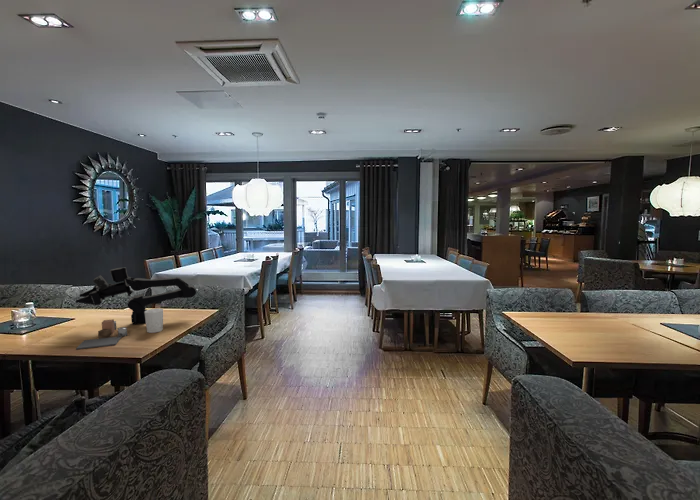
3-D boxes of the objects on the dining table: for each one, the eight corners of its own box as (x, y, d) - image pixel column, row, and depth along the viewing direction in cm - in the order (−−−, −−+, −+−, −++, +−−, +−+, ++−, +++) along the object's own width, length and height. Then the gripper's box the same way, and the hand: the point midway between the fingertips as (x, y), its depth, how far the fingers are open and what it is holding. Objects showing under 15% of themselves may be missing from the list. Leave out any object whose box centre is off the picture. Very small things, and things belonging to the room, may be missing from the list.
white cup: (167, 329, 172) (166, 309, 171) (154, 334, 164) (153, 313, 163) (155, 327, 174) (154, 307, 173) (141, 332, 167) (140, 312, 166)
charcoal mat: (121, 337, 160) (121, 336, 160) (115, 345, 151) (115, 343, 151) (84, 341, 155) (84, 340, 155) (76, 349, 146) (76, 348, 145)
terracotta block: (114, 331, 168) (113, 319, 168) (112, 334, 165) (111, 321, 164) (104, 332, 167) (104, 320, 166) (102, 335, 163) (101, 322, 162)
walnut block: (111, 336, 162) (111, 328, 162) (106, 338, 158) (105, 331, 158) (103, 336, 162) (103, 328, 161) (98, 338, 158) (98, 331, 158)
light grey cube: (127, 334, 165) (127, 326, 164) (126, 336, 161) (125, 329, 161) (119, 335, 163) (118, 327, 163) (117, 337, 160) (116, 330, 160)
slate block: (116, 327, 174) (115, 320, 173) (116, 329, 171) (116, 322, 170) (107, 329, 172) (107, 322, 171) (107, 331, 169) (107, 324, 168)
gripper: (112, 270, 181) (76, 278, 174) (108, 279, 165) (68, 288, 158) (119, 290, 184) (83, 298, 177) (115, 300, 168) (76, 310, 161)
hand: (78, 298), depth 169 cm, fingers open, 9 cm apart
